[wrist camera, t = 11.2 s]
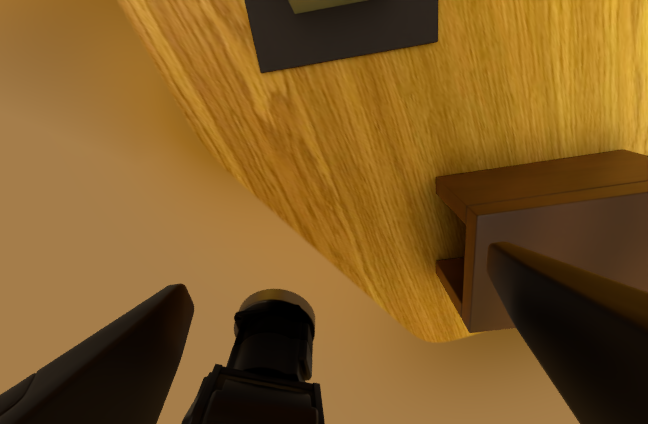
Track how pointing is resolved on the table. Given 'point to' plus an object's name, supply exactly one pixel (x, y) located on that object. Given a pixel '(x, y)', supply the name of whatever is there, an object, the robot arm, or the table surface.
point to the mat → (337, 30)
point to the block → (317, 4)
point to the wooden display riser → (547, 224)
